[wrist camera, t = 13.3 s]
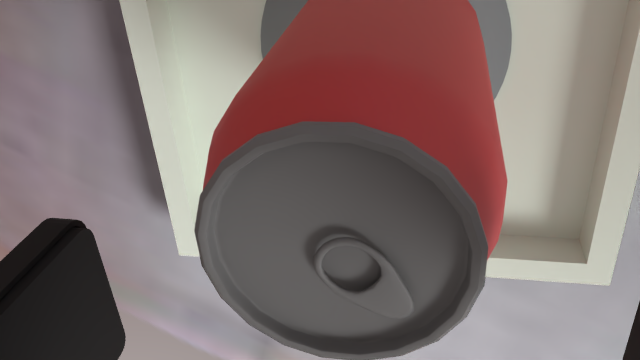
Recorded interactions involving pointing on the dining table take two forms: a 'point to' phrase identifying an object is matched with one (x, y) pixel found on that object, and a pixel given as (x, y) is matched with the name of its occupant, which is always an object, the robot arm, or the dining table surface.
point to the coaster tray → (509, 99)
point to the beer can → (358, 180)
